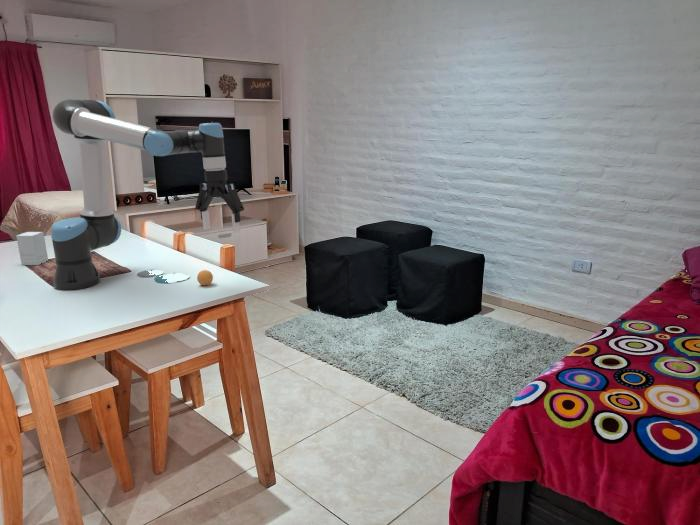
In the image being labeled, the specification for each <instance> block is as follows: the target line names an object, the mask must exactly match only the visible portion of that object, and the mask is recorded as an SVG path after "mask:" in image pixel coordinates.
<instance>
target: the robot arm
mask: <svg viewBox="0 0 700 525" xmlns="http://www.w3.org/2000/svg"><path fill="white" fill-rule="evenodd" d="M52 119H53V123H54V125H55V126H56V128H58V130H60V131H61V132H63V133H64V134H67V135H72V136H73V138H74V139H75V140H76V141H77V142H78V144H79V156H80V157H79V158H80V167H81V168H80V169H81V170H80V172H81V181H82V182H81V183H82V185H81V186H82V195H83V196H82V198H83V209H82V210H81V211H80V212H79V217H70V218H64V219H61V220H59V221H56V222H55V223H53V224H52V225H51V227H50V230H51V231H50V232H51V235H50V236H51V237H50V238H51V240H52V246H53V253H54V259H55V265H56V266H55V271H54V274H53V275H54V276H53V287H54V289H57V290H62V291H72V290H81V289H86V288H90V287H93V286H96V285H98V284H100V282H101V277H100V276H101V275H100V274H99V272H98V270H97V268H96V266H95V264H94V262H93V259H92V252H91V251H95V250H98V249H101V248H104V247H105V248H106V247H108V246H110V245H113V244H114V243H116V242H117V241H118V240H119V239H120V236H121V235H122V234H121V233H122V225H121V221H119V218H118V217H117V216H116V215H115V211H114V210H112V208H110V200H109V199H110V198H109V197H110V196H109V180H108V179H109V178H108V166H107V165H108V164H107V162H108V161H107V148H106V146H107V145H106V144H107V143H108V142H111V143H116V144H118V145H119V144H120V145H123V146H127V147H131V148H134V149H138V150H142V151H146V152H148V153H149V155H151V156H155V157H166V156H171V155H179V154H189V153H201V155H202V163H203V165H202V167H203V169H204V173H203V174H204V181H205V182H203V183H199V192H198V195H197V199H196V204H195V207H194V208H195V210H199V212H200V219H201V221H202V226H203V230H204V231H207V230H210V229H211V221H210V212H209V210H208V208H209V206H210V204H211V202H212V200H213V199H214V198H215V197H217V198H221V199H223V201H224V202H225V203H226V205H227V206H228V207H229V209H230V210H231V214H230V215H231V222H232V223H231V224H232V231H233V233H239V232H240V231H241V227H240V222H241V212H244V211H245V207H244V205H243V203H242V200H241V199H240V196H239V194H238V193H237V190H236V186H235V183H227V181H228V172H227V169H226V168H227V161H226V154H225V142H224V140H225V139H224V137H225V136H224V130H223V126H222V124H221V123H220V122H206V123H205V122H204V123H200V124H199V125H198V129H185V130H184V129H176V130H161V129H156V128H153V127H150V126H149V127H148V126H145V125H141V124H138V123H133V122H129V121H125V120H122V119H117V118H116V114H115V113H114V111H113V109H112V108H111V107H110V105H108V104H107V103H106V102H103V101H101V100H96V99H70V98H69V99H65V100H62V101H60V102H58V103H57V104H56V105H55V106H54V108H53V110H52Z"/></svg>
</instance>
